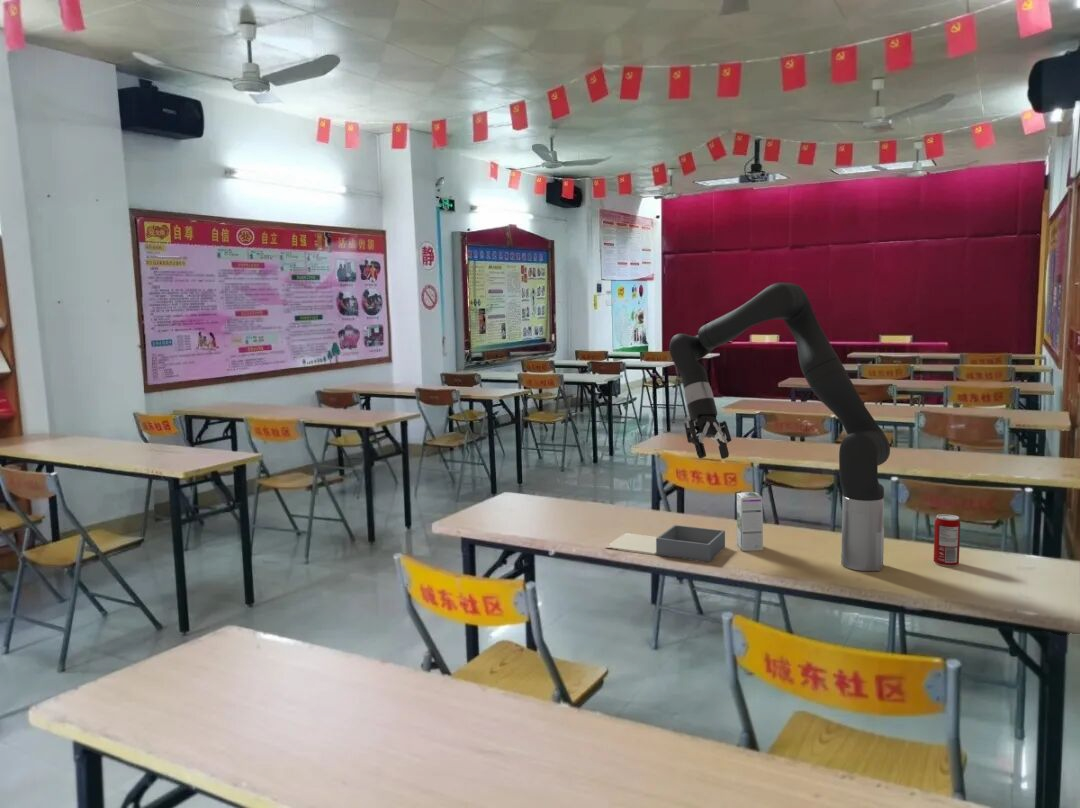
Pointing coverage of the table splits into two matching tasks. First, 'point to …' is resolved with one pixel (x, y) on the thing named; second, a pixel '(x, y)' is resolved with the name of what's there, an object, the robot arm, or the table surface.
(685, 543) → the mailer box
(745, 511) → the syrup box
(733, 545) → the table surface
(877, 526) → the robot arm
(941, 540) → the soda can
